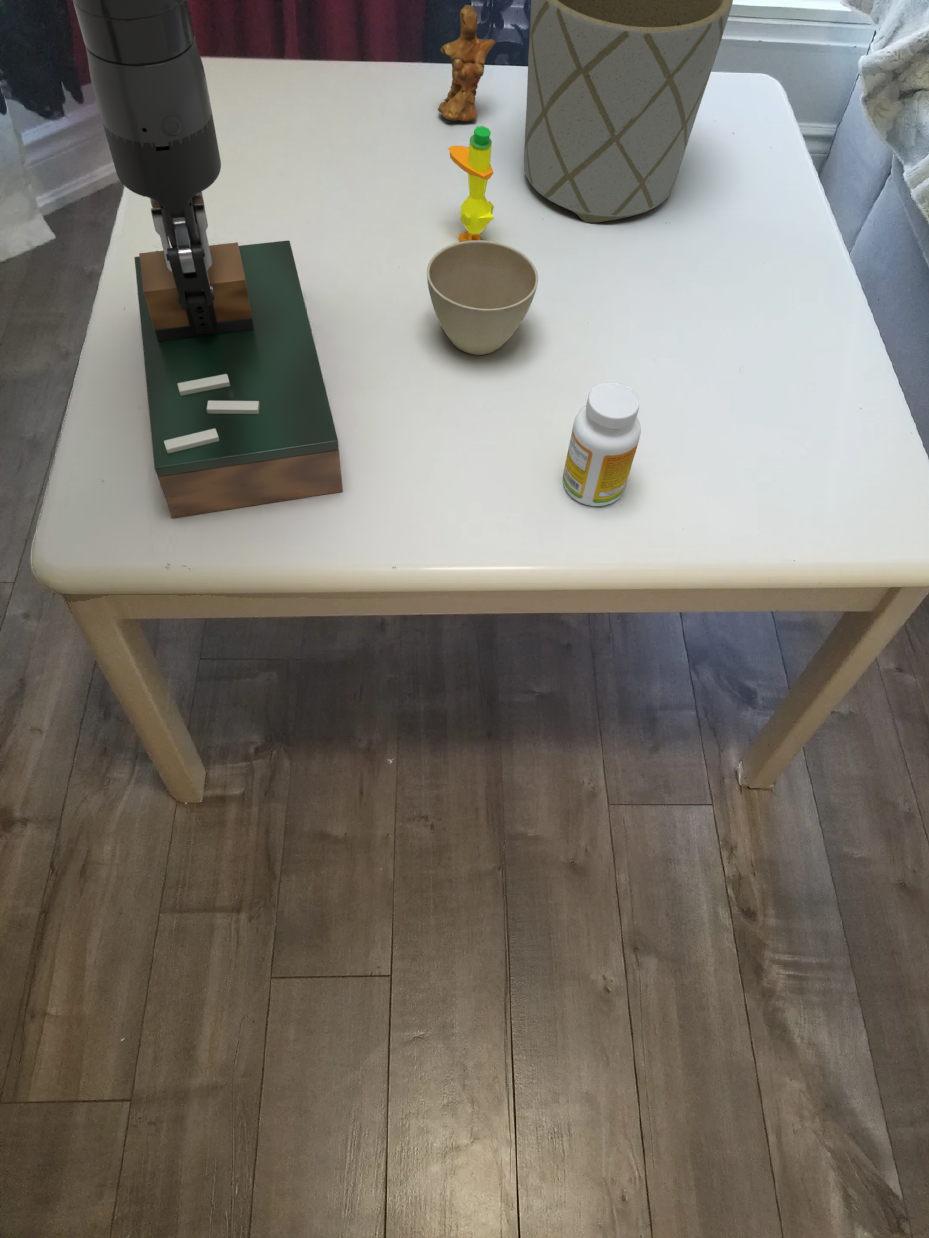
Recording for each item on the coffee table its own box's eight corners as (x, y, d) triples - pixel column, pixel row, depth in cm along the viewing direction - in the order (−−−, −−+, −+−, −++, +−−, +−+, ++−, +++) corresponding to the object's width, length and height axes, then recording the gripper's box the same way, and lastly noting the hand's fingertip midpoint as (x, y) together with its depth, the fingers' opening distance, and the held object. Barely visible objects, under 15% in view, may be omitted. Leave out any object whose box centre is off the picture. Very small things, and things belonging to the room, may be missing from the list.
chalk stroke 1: (180, 396, 73) (179, 391, 73) (178, 387, 74) (177, 383, 73) (230, 386, 74) (229, 381, 74) (227, 378, 75) (226, 373, 74)
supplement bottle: (630, 470, 79) (656, 386, 71) (616, 515, 76) (640, 432, 68) (571, 453, 80) (589, 368, 72) (554, 497, 77) (571, 413, 69)
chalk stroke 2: (167, 454, 70) (166, 449, 69) (164, 445, 70) (163, 440, 70) (219, 441, 71) (218, 436, 70) (216, 432, 71) (215, 427, 71)
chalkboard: (171, 518, 74) (154, 468, 69) (150, 311, 87) (134, 256, 82) (342, 491, 76) (338, 441, 71) (296, 294, 90) (289, 239, 85)
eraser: (246, 292, 80) (237, 242, 76) (254, 329, 78) (245, 279, 74) (153, 303, 79) (138, 253, 75) (157, 342, 76) (143, 291, 72)
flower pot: (510, 385, 84) (517, 322, 78) (409, 355, 86) (409, 291, 80) (542, 319, 90) (552, 256, 84) (447, 293, 91) (450, 228, 85)
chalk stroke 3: (207, 413, 72) (206, 409, 72) (208, 404, 73) (207, 400, 72) (258, 414, 72) (257, 409, 72) (259, 405, 73) (258, 400, 73)
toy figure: (435, 230, 97) (438, 116, 86) (460, 218, 98) (466, 104, 88) (478, 262, 94) (486, 148, 84) (503, 248, 95) (514, 135, 85)
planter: (716, 199, 102) (776, 1, 86) (583, 252, 96) (620, 50, 79) (609, 118, 110) (644, -77, 94) (480, 162, 104) (493, -39, 87)
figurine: (479, 133, 107) (486, 21, 97) (432, 123, 108) (435, 11, 98) (490, 114, 110) (498, 3, 100) (445, 104, 110) (448, -7, 100)
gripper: (95, 61, 67) (150, 263, 81) (105, 172, 59) (163, 373, 73) (200, 53, 68) (235, 254, 82) (222, 161, 61) (257, 361, 75)
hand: (201, 309), depth 78 cm, fingers closed on eraser, 5 cm apart
